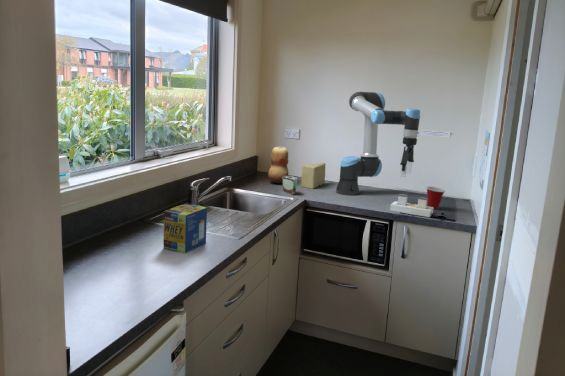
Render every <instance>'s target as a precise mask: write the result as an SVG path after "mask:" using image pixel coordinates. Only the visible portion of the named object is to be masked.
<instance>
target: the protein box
mask: <svg viewBox="0 0 565 376" xmlns="http://www.w3.org/2000/svg"><path fill="white" fill-rule="evenodd" d="M207 214H208V207H206V206H201V205H196V204H191V203H184V204H181V205H177V206H174V207H172V208H170V209H169V208H168V209H166V210H163V249H164V250H168V251H173V252H178V253H181V254H187V253H189V252H191V251H193V250H194V249H197V248H198V247H200V246H203V245H205V244H206V243H207V222H208V220H207V219H208V218H207V216H208V215H207Z"/></svg>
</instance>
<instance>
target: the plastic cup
mask: <svg viewBox="0 0 565 376" xmlns="http://www.w3.org/2000/svg"><path fill="white" fill-rule="evenodd" d="M425 188H426V193H427V194H426V196H427V197H426V198H428V201H427V206H428V207H434V209H433V210H438V209H439V206H440V204H441V201H442V199H443V195H444V193H445V192H446V190H445V189H443V188H440V187H437V186H436V187H435V186H426V187H425Z"/></svg>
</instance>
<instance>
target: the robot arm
mask: <svg viewBox="0 0 565 376" xmlns="http://www.w3.org/2000/svg"><path fill="white" fill-rule="evenodd" d="M348 104H349V105H348V106H349V107H350V108H351V109H352V110H354V111H355V112H360V113H362V115H363V116H364V125H363V126H364V127H363V128H364V129H363V146H362V147H363V149H362V150H363V151H362V154H361V155H360V156H355V155H353V156H352V155H351V156H345V157H342V159H341V160H340V168H339V169H340V173H339V180H338V183H337V186H336V188H335V193H337V194H339V195H340V194H341V195H345V196H357V195H360V186H359V183H358V181H359V178H363V177H366V178H368V177H369V178H373V177H374V178H375V177H379V174H380V173H381V172H382V168H383V164H382V160H381V159H380V158H379V157H380V156H379V155H378V154H377V150H378V148H377V147H378V133H379V131H378V130H379V125H398V126H399V125H400V126H404V129H403V137H402V144H403V145H405V146H404V147H403V153H402V156H401V161H400V164H399V165H401V167H400V174H399V176H400V177H401V178H402V177H403V178H406V175H407V174H409V175H411V174H412V168H413V163H414V162H415V160H414V155H415V154H414V148H415V146H416V145H417V142H418V134H420V132H419V127H420V126H419V125H420V119H421V110H420V109H417V108H407V109H406V110H405V111H403V110H385V107H386V99H385V96H384V95H383V93H380V92H376V91H374V92H372V91H368V92H367V91H356V92H354V93H352V94H351V96H350V97H349V99H348Z"/></svg>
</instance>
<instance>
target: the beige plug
mask: <svg viewBox="0 0 565 376" xmlns="http://www.w3.org/2000/svg"><path fill="white" fill-rule="evenodd" d="M427 201H428V198H427V197H424V196H423V197H422V196H419V197H418V198H417V205H418V206H417V208H421V209H426V208H427V206H428V202H427Z"/></svg>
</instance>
